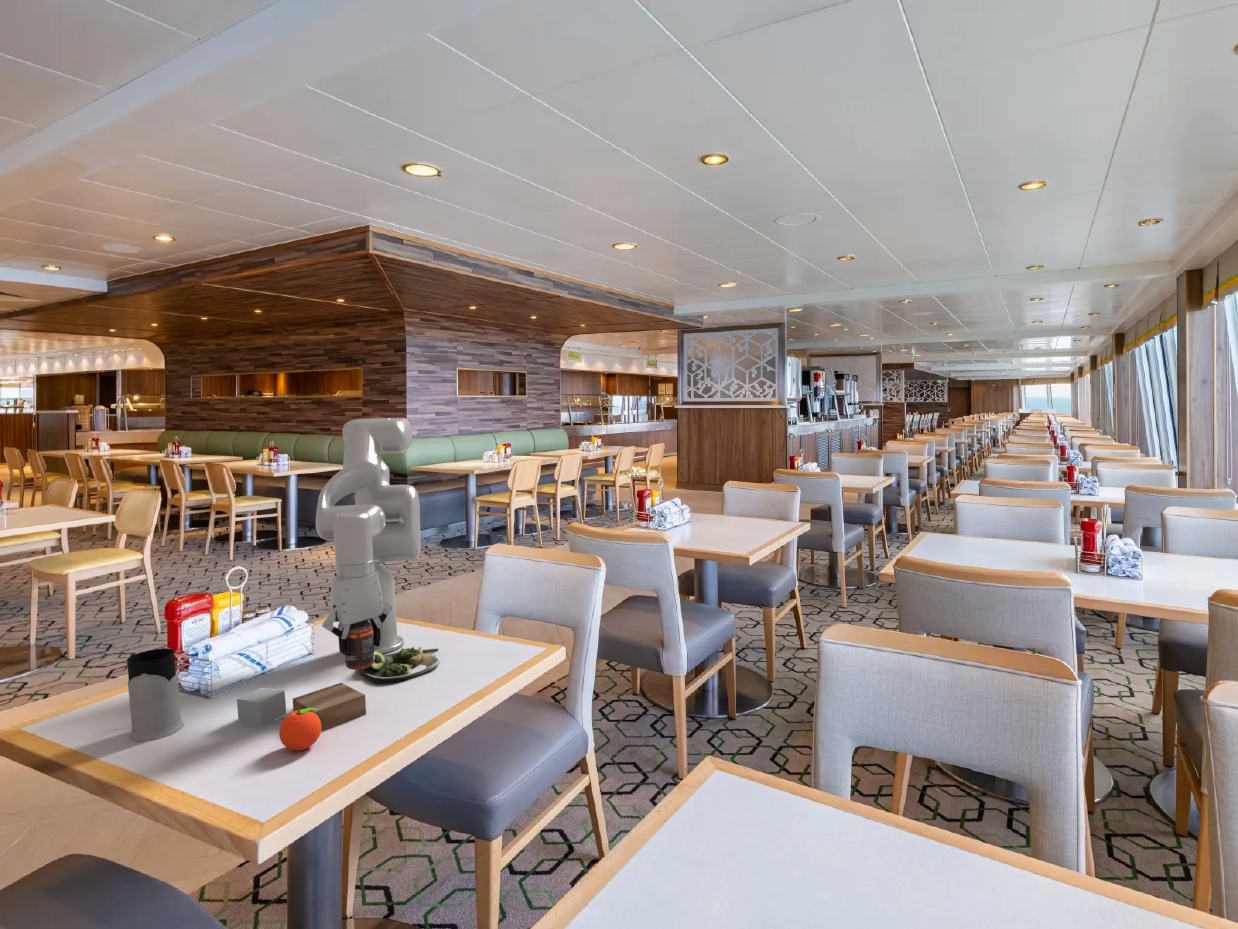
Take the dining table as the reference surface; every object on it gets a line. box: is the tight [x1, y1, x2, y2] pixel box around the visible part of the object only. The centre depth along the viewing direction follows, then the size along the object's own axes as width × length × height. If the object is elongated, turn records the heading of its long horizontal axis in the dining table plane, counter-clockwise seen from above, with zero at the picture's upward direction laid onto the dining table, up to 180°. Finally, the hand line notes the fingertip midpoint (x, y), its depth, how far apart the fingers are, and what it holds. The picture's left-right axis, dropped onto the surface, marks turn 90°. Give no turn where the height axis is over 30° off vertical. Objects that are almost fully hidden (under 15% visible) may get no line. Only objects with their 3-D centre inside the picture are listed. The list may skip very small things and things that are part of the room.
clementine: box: [278, 708, 325, 752], centre depth 123 cm, size 8×7×7 cm
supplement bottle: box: [344, 620, 375, 671], centre depth 148 cm, size 6×6×11 cm
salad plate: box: [358, 646, 441, 684], centre depth 162 cm, size 19×18×5 cm
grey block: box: [236, 686, 287, 728], centre depth 135 cm, size 6×6×5 cm
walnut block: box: [292, 682, 367, 732], centre depth 136 cm, size 10×10×4 cm
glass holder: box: [126, 647, 185, 742], centre depth 134 cm, size 9×14×15 cm, turn 15°
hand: (360, 649), depth 147 cm, fingers closed on supplement bottle, 6 cm apart
